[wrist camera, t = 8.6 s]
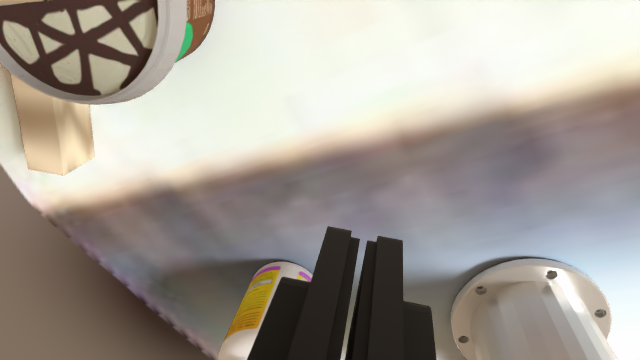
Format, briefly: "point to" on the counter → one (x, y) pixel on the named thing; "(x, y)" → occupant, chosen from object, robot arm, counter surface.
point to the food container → (99, 44)
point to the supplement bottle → (256, 308)
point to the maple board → (52, 127)
